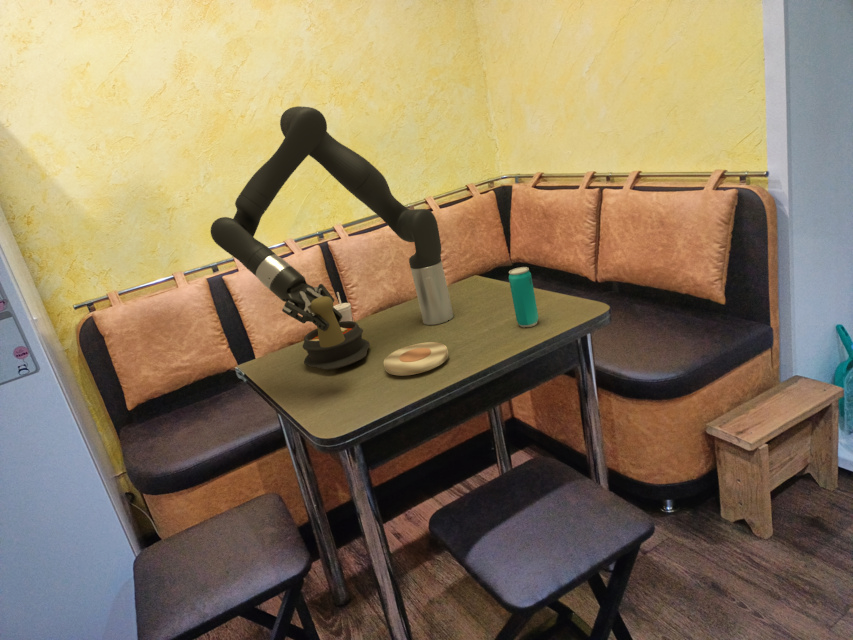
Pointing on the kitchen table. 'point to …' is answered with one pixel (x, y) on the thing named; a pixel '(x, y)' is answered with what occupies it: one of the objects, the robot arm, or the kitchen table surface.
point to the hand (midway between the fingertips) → (333, 323)
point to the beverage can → (523, 297)
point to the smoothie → (344, 310)
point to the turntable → (416, 358)
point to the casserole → (336, 348)
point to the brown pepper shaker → (333, 332)
